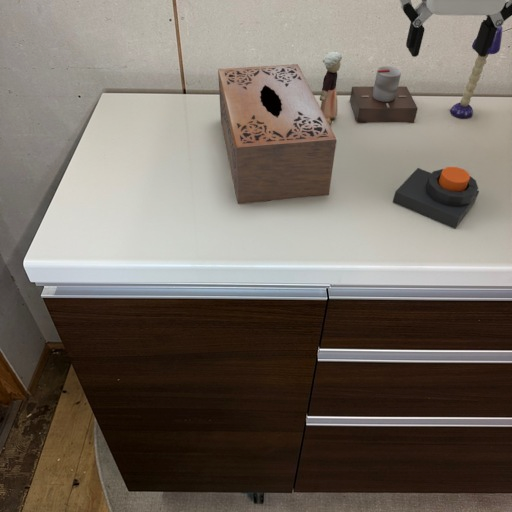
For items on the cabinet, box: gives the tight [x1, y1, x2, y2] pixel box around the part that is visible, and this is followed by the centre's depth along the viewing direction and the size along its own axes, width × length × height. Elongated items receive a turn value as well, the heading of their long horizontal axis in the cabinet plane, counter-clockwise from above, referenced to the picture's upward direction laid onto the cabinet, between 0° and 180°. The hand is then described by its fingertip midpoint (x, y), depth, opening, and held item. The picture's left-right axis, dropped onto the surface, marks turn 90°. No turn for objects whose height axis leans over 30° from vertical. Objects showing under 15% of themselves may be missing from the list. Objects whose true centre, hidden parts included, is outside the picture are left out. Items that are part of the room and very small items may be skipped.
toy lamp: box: [449, 25, 503, 120], centre depth 87 cm, size 5×5×17 cm
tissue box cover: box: [217, 63, 337, 205], centre depth 79 cm, size 26×14×10 cm, turn 9°
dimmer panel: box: [349, 86, 419, 124], centre depth 92 cm, size 11×9×3 cm
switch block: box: [392, 167, 480, 230], centre depth 72 cm, size 10×8×4 cm
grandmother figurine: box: [319, 51, 343, 126], centre depth 87 cm, size 8×4×13 cm, turn 168°
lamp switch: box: [439, 166, 471, 192], centre depth 70 cm, size 4×4×2 cm
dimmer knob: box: [373, 66, 402, 102], centre depth 89 cm, size 4×4×5 cm
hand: (445, 53), depth 68 cm, fingers open, 9 cm apart
